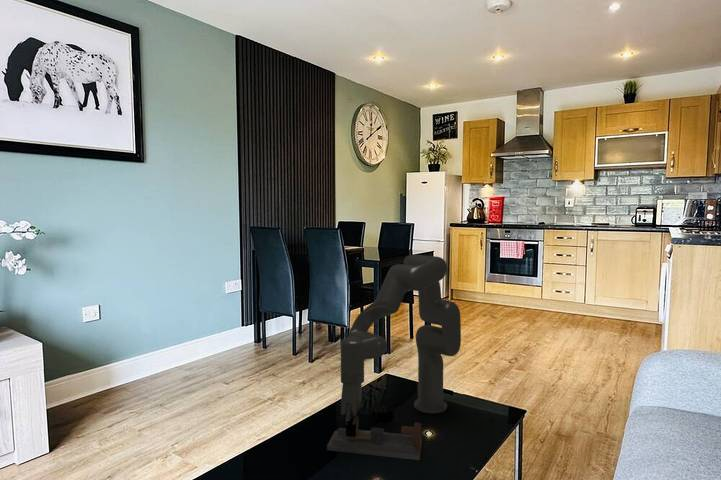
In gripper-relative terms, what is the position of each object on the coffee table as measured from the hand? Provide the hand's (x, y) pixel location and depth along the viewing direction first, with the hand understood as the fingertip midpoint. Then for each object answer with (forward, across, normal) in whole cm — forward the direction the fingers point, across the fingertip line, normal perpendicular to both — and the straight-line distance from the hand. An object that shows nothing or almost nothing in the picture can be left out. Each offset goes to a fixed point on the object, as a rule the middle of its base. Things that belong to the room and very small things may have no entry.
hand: (352, 431), depth 142 cm
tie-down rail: (+4, 0, +7) cm, 8 cm away
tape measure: (+5, -20, +7) cm, 22 cm away
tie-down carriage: (+3, 0, +4) cm, 5 cm away
